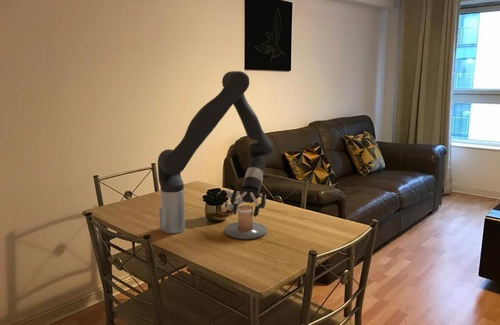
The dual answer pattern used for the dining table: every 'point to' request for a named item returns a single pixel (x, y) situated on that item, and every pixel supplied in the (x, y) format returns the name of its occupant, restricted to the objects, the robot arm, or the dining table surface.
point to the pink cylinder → (245, 218)
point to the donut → (229, 195)
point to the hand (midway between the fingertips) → (244, 214)
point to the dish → (236, 233)
